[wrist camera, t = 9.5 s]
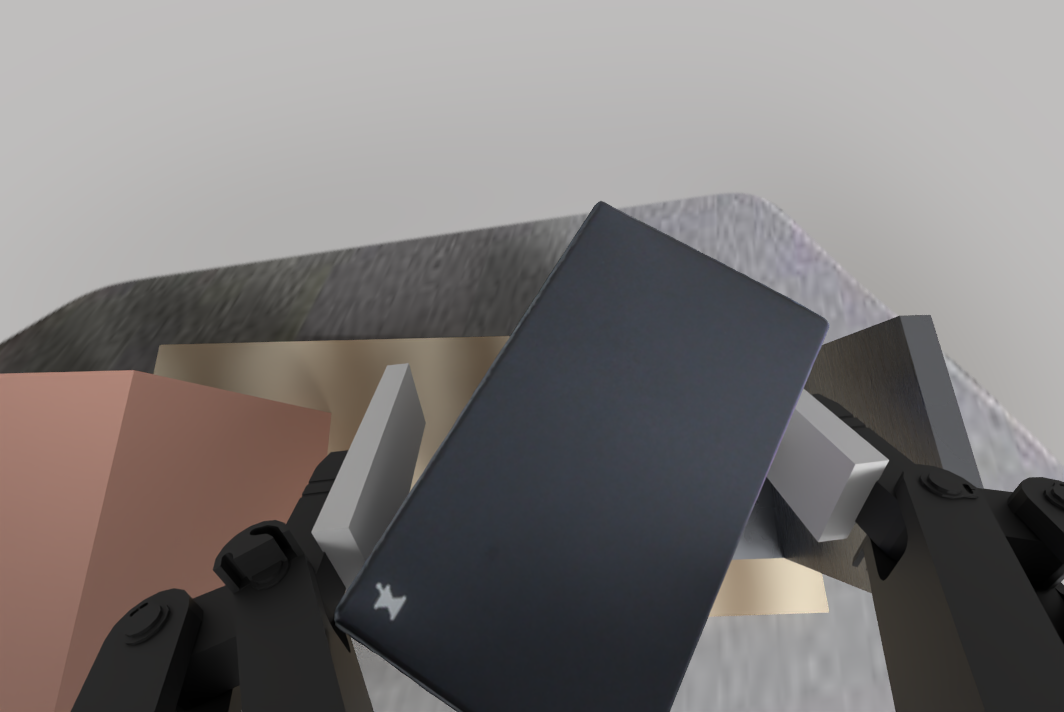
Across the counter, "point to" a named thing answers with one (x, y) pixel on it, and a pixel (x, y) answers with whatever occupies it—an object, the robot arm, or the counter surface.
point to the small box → (591, 484)
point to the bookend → (889, 410)
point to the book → (125, 506)
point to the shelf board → (432, 421)
